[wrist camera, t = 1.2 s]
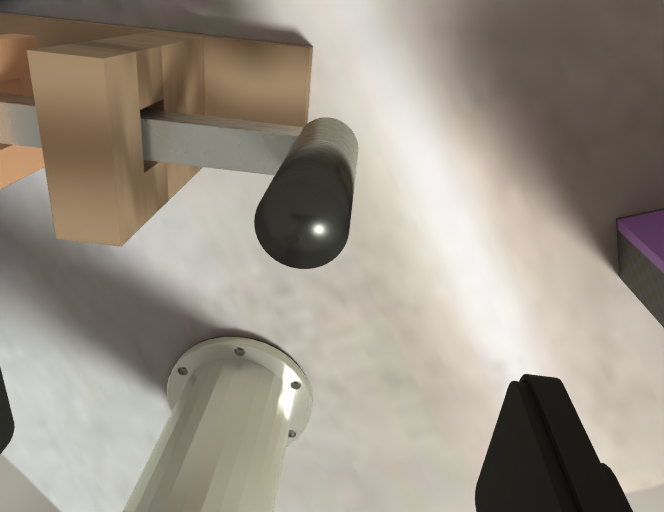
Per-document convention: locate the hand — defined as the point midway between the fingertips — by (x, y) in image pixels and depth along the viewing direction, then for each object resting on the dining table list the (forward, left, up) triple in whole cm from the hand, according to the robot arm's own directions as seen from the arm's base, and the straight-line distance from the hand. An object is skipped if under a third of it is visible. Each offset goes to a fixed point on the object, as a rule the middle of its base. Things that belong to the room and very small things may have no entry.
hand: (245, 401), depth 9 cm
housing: (0, +13, -28) cm, 31 cm away
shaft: (0, +9, -19) cm, 21 cm away
